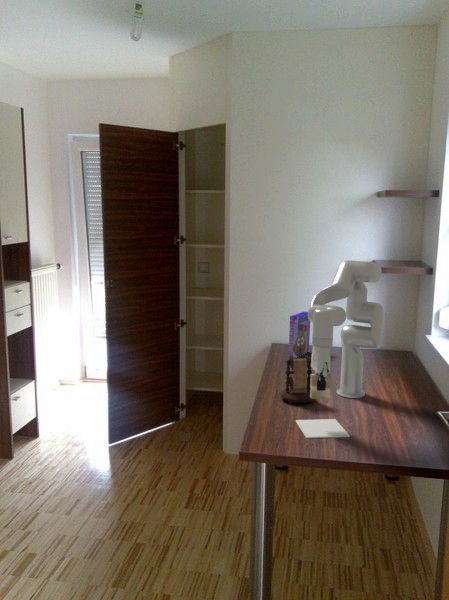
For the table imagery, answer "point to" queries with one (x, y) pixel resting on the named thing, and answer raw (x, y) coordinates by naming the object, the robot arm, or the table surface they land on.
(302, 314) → the cereal box
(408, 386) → the table surface
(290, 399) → the brown wooden ornament
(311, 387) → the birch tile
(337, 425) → the rubber mat
